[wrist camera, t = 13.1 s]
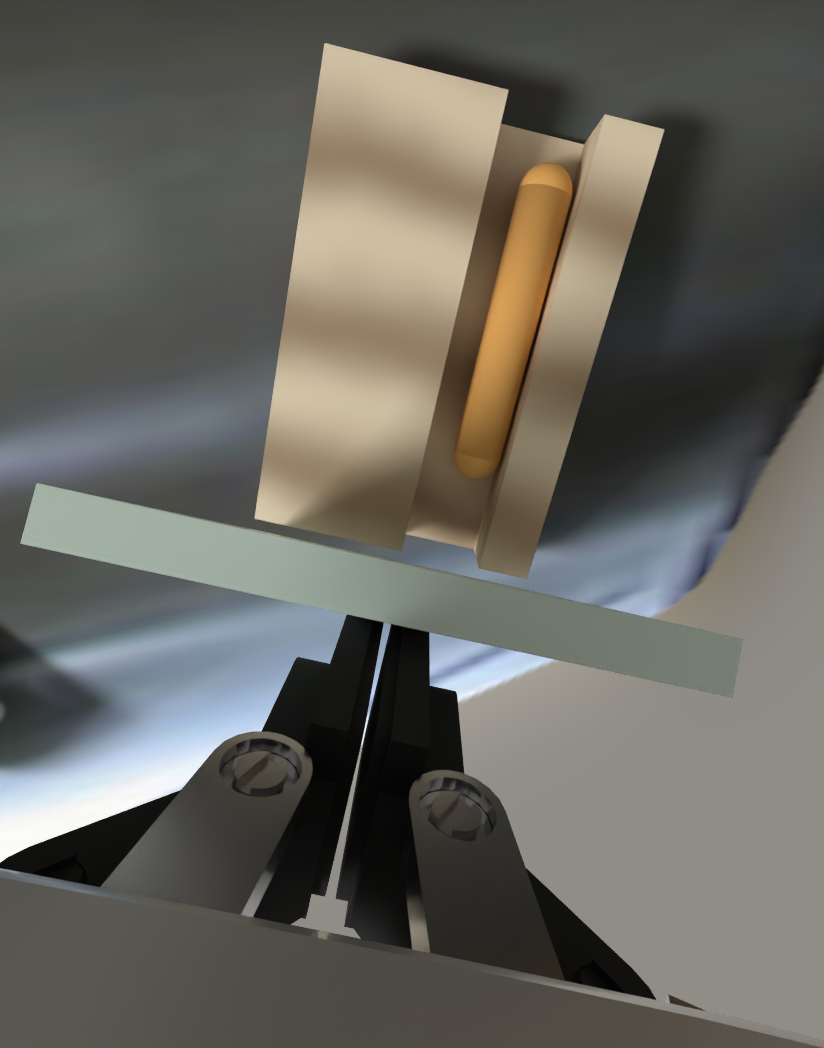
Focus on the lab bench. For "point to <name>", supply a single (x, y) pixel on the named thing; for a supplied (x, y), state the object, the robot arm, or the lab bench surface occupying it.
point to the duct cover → (380, 589)
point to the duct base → (433, 309)
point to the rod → (512, 317)
